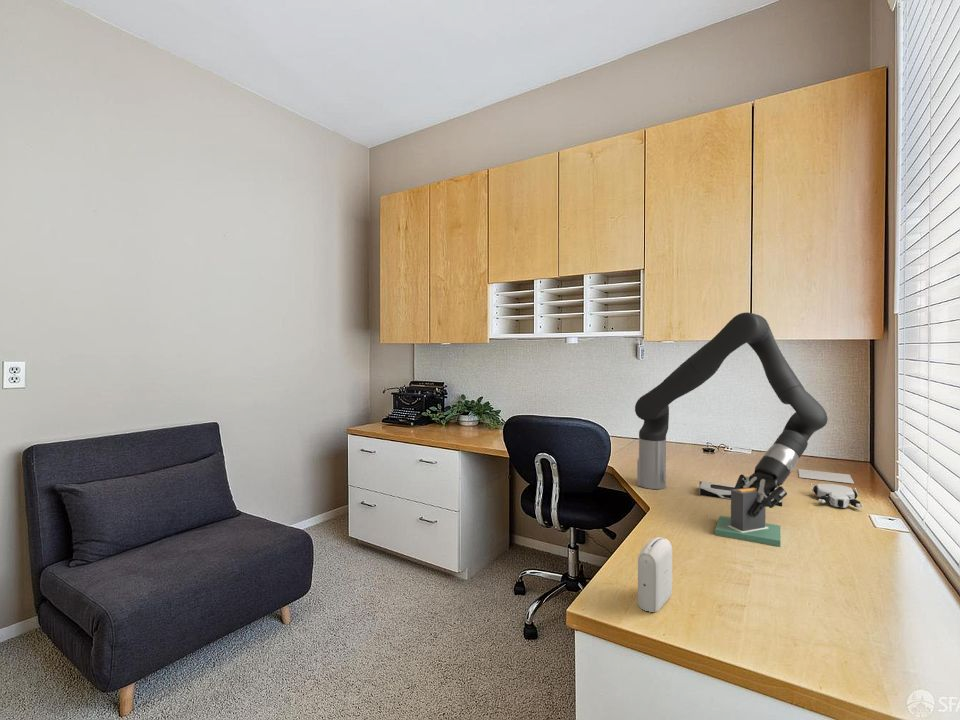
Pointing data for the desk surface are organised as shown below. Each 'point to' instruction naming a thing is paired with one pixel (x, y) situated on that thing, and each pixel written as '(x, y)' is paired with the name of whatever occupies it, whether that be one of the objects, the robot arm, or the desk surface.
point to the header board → (749, 532)
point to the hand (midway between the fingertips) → (742, 511)
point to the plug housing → (745, 509)
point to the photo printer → (654, 574)
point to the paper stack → (825, 476)
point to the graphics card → (719, 491)
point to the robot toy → (836, 495)
